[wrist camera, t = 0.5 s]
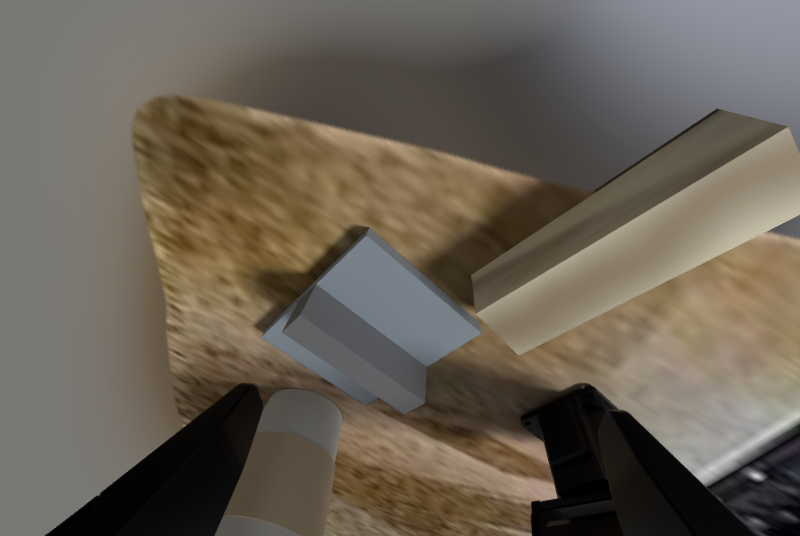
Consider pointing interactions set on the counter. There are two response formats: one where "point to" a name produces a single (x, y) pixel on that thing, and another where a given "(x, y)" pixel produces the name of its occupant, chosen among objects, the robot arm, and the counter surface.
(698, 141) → the ash bar
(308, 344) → the ridge stand
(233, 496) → the coffee cup
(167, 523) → the robot arm
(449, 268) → the counter surface
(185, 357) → the counter surface
